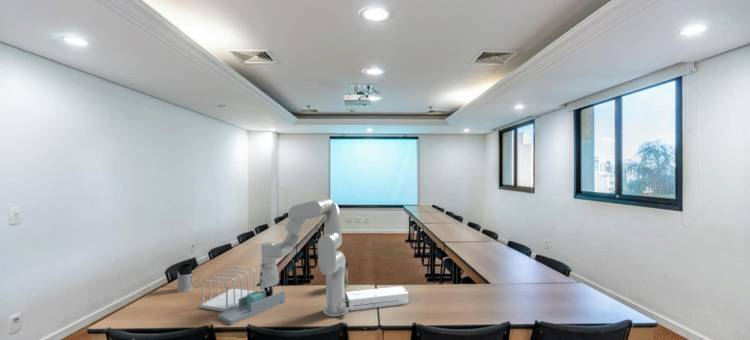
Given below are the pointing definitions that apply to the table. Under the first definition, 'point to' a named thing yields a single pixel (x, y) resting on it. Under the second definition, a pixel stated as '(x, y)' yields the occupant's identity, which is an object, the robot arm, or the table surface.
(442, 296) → the table surface
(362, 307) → the laminator
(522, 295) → the table surface
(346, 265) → the coffee box
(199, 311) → the table surface
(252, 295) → the teal block
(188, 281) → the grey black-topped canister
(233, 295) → the file sorter
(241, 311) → the sleeve
